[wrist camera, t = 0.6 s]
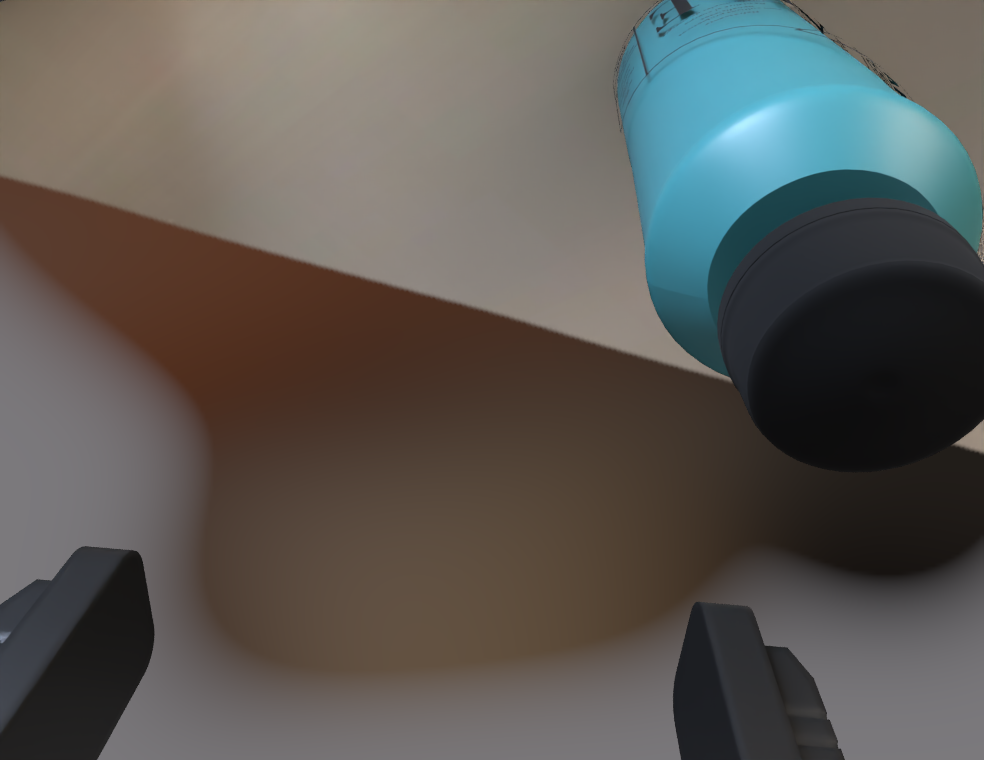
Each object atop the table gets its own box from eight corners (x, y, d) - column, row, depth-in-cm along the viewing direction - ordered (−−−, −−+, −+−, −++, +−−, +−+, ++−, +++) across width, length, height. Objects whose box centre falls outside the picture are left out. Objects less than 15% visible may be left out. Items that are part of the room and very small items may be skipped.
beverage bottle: (666, 191, 31) (774, 600, 14) (573, 40, 28) (574, 332, 12) (831, 92, 28) (1189, 450, 12) (746, -84, 26) (1061, 62, 9)
